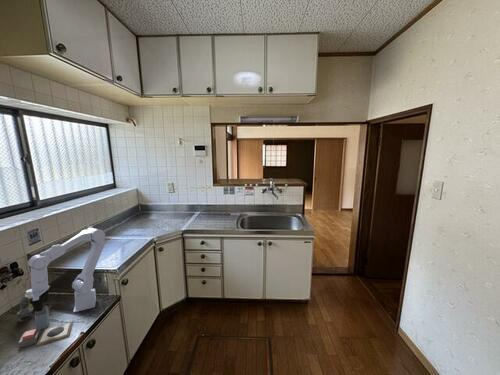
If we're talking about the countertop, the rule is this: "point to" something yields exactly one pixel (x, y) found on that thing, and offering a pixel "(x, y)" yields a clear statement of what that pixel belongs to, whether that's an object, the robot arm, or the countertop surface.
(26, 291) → the supplement bottle
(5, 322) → the countertop surface
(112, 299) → the countertop surface
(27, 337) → the button
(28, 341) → the button housing
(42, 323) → the grey rectangular block
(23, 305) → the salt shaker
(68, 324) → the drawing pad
